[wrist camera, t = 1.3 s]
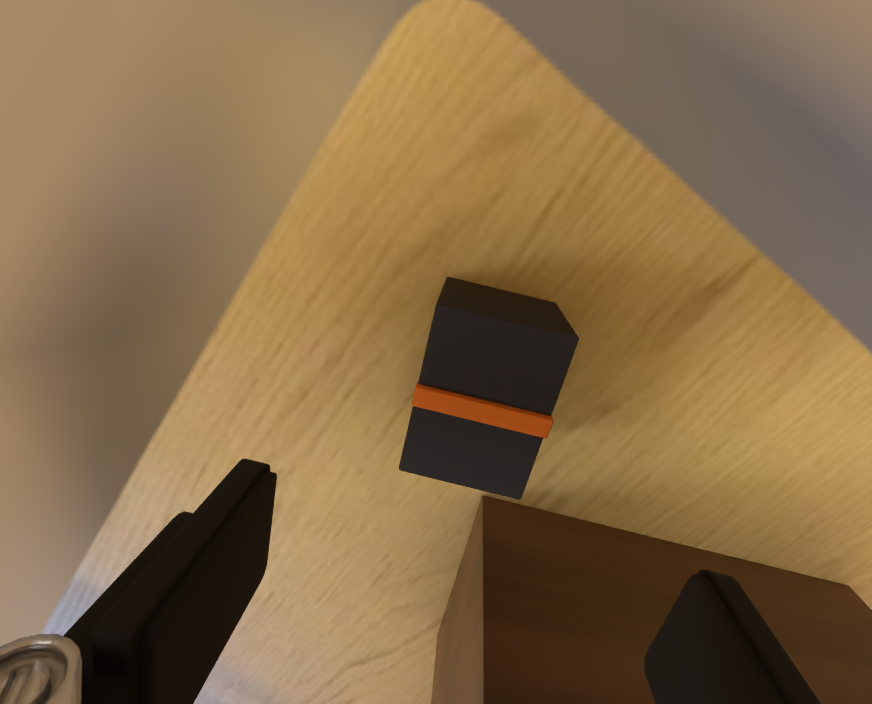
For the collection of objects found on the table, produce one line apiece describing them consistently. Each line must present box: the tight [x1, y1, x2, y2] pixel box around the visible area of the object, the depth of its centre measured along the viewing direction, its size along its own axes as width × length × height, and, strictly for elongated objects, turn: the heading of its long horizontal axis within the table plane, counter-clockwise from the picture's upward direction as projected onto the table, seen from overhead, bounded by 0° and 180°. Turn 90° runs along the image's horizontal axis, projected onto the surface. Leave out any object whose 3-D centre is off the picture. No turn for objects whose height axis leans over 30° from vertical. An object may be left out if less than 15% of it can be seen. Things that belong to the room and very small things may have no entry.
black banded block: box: [399, 277, 579, 500], centre depth 18 cm, size 5×7×5 cm
